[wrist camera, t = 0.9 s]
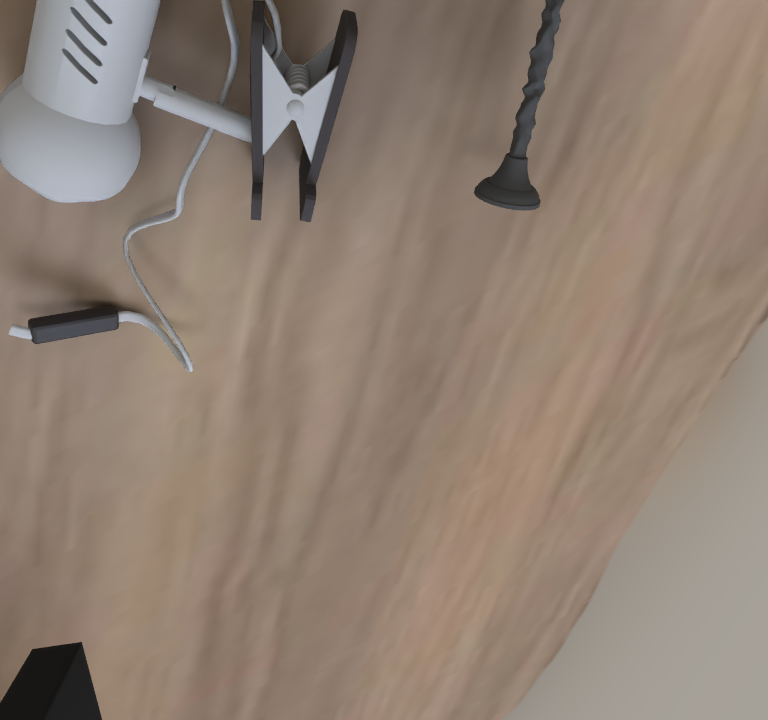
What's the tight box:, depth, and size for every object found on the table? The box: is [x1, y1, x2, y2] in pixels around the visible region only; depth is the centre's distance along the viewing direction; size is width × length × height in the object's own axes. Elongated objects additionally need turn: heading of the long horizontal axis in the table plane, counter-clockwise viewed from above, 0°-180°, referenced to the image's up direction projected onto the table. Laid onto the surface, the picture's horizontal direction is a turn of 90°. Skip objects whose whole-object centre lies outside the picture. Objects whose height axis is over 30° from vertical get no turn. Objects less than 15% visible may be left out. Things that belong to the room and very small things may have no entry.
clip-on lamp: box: [0, 0, 358, 372], centre depth 29 cm, size 12×6×18 cm
